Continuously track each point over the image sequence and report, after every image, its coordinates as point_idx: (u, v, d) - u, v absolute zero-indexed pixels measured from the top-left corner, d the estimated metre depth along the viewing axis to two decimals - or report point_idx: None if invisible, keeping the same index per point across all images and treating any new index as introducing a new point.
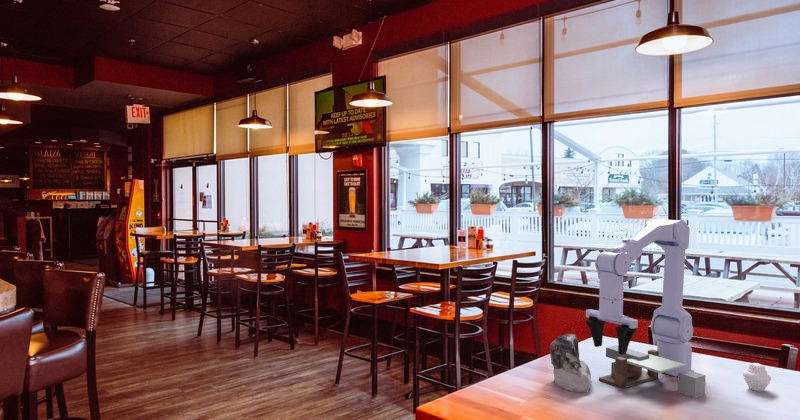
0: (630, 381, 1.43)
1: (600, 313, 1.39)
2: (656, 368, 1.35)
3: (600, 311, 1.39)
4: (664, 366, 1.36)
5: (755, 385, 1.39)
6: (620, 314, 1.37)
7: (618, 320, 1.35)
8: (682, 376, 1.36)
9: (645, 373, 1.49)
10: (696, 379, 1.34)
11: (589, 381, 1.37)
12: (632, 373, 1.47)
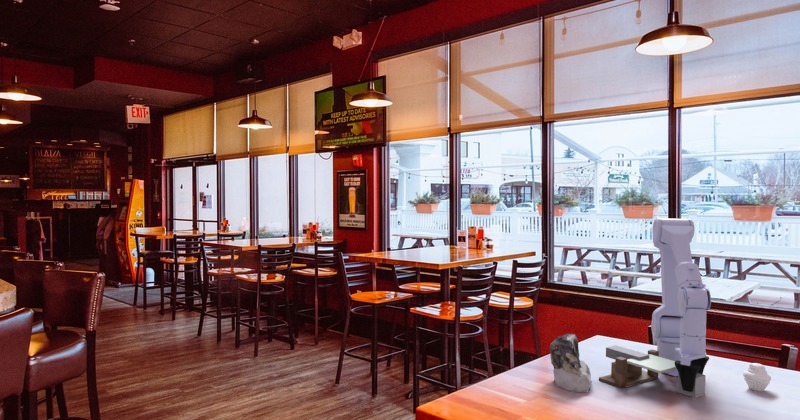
0: (630, 381, 1.43)
1: None
2: (656, 368, 1.35)
3: None
4: (664, 366, 1.36)
5: (755, 385, 1.39)
6: (690, 351, 1.34)
7: (680, 354, 1.35)
8: None
9: (645, 373, 1.49)
10: (696, 379, 1.34)
11: (589, 381, 1.37)
12: (632, 373, 1.47)
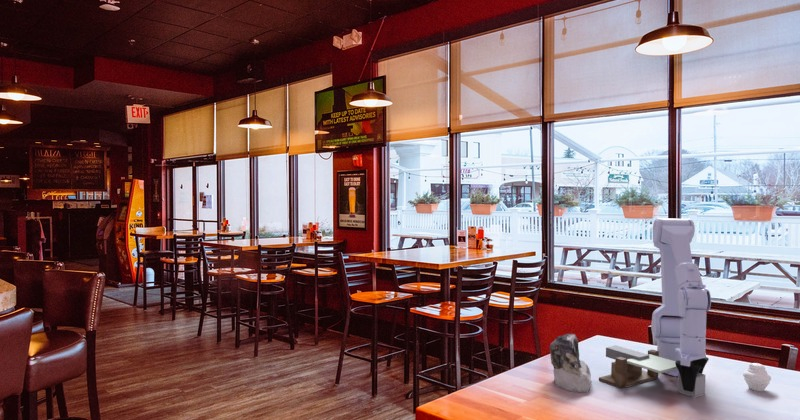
0: (630, 381, 1.43)
1: None
2: (656, 368, 1.35)
3: None
4: (664, 366, 1.36)
5: (755, 385, 1.39)
6: (690, 351, 1.34)
7: (680, 355, 1.35)
8: None
9: (645, 373, 1.49)
10: (696, 378, 1.34)
11: (589, 381, 1.37)
12: (632, 373, 1.47)
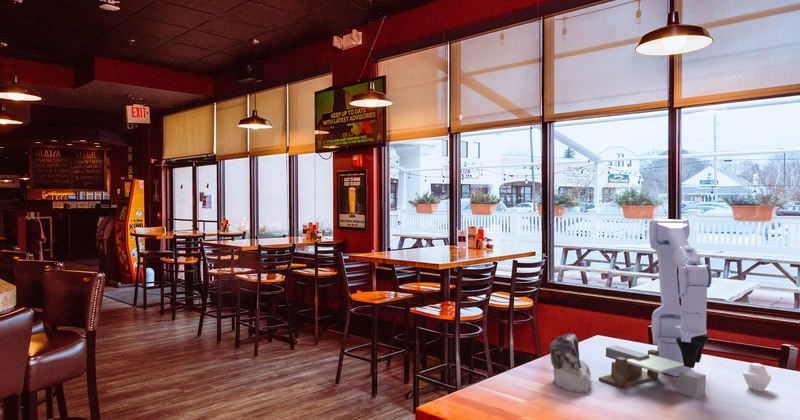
0: (630, 381, 1.43)
1: None
2: (656, 368, 1.35)
3: None
4: (664, 366, 1.36)
5: (755, 385, 1.39)
6: (690, 328, 1.34)
7: (681, 332, 1.35)
8: (684, 376, 1.36)
9: (645, 373, 1.49)
10: (697, 379, 1.34)
11: (589, 381, 1.37)
12: (632, 373, 1.47)
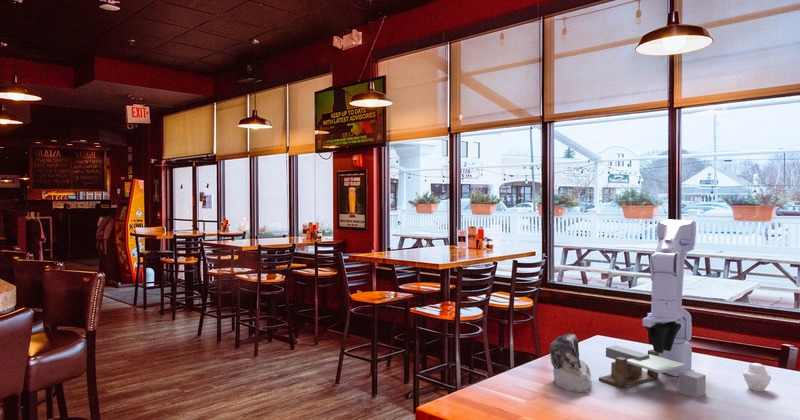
0: (630, 381, 1.43)
1: None
2: (656, 368, 1.35)
3: None
4: (664, 366, 1.36)
5: (755, 385, 1.39)
6: (657, 314, 1.36)
7: None
8: (683, 376, 1.36)
9: (645, 373, 1.49)
10: (697, 379, 1.34)
11: (589, 381, 1.37)
12: (632, 373, 1.47)
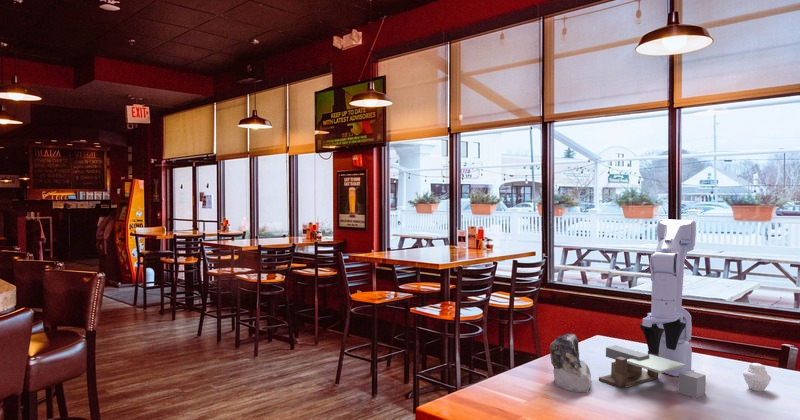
0: (630, 381, 1.43)
1: None
2: (656, 368, 1.35)
3: None
4: (664, 366, 1.36)
5: (755, 385, 1.39)
6: (657, 314, 1.36)
7: None
8: (683, 376, 1.36)
9: (645, 373, 1.49)
10: (697, 379, 1.34)
11: (589, 381, 1.37)
12: (632, 373, 1.47)
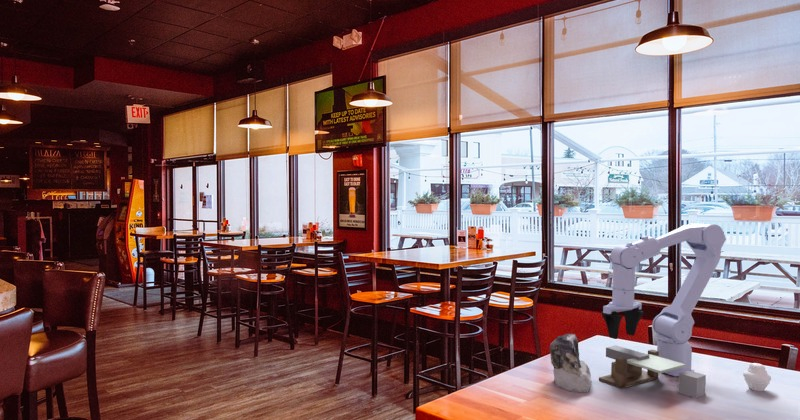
0: (630, 381, 1.43)
1: None
2: (656, 368, 1.35)
3: None
4: (664, 366, 1.36)
5: (755, 385, 1.39)
6: (617, 302, 1.50)
7: None
8: (683, 376, 1.36)
9: (645, 373, 1.49)
10: (697, 379, 1.34)
11: (589, 381, 1.37)
12: (632, 373, 1.47)
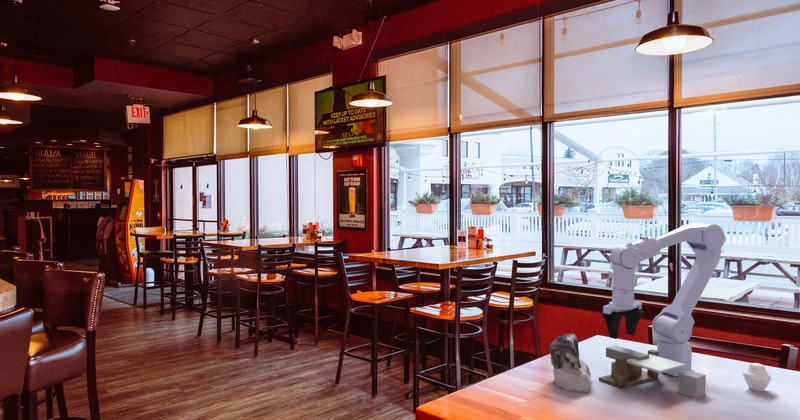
0: (630, 381, 1.43)
1: None
2: (656, 368, 1.35)
3: None
4: (664, 366, 1.36)
5: (755, 385, 1.39)
6: (617, 302, 1.50)
7: None
8: (683, 376, 1.36)
9: (645, 373, 1.49)
10: (697, 379, 1.34)
11: (589, 381, 1.37)
12: (632, 373, 1.47)
